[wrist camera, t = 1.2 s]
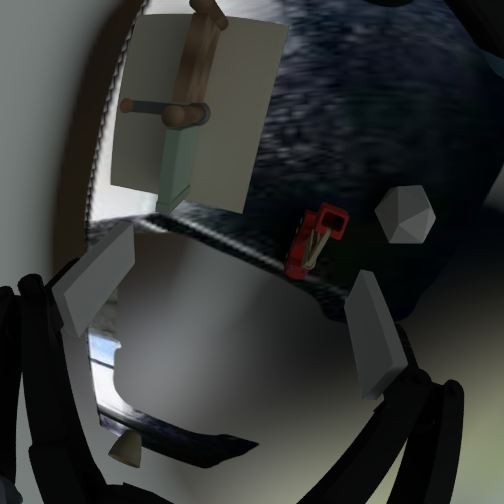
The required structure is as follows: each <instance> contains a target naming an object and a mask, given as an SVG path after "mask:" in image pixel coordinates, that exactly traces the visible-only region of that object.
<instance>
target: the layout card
mask: <svg viewBox="0 0 504 504" xmlns="http://www.w3.org/2000/svg"><path fill="white" fill-rule="evenodd" d="M192 16H193V14H150V15H138V16H137V20H136V23H135V27H134V30H133V34H132V38H131V41H130V45H129V49H128V54H127V58H126V63H125V67H124V72H123V77H122V82H121V88H120V94H119V100H118V107H117V114H116V122H115V130H114V140H113V151H112V166H111V185H114V186H120V187H125V188H130V189H134V190H139V191H144V192H149V193H154V194H158V192H159V183H160V174H161V166H162V158H163V151H164V144H165V137H166V131H167V129H169V128H175V127H167V126H166V125H164V124H163V122H162V119H161V115H162V112H163V110H164V109H165V108H166V107H168V106H171V105H201V106H203V107H204V108H205V110H206V117H205V118H204V120H202V121H200V122H196V123H191V124H192V125H198V130H197V136H196V141H195V147H194V152H193V158H192V164H191V170H190V176H189V183H188V185H191V188H190V193H189V194H188V195H187V196H186V197H185V198H184V199H183V200H186V201H190V202H195V203H199V204H203V205H208V206H212V207H216V208H220V209H225V210H229V211H233V212H237V213H241V214H242V212H243V208H244V204H245V200H246V195H247V191H248V187H249V183H250V178H251V174H252V170H253V166H254V162H255V158H256V154H257V150H258V145H259V141H260V137H261V133H262V129H263V125H264V121H265V117H266V113H267V109H268V106H269V102H270V98H271V94H272V90H273V86H274V82H275V78H276V75H277V71H278V67H279V63H280V59H281V56H282V52H283V48H284V44H285V41H286V37H287V33H288V30H289V26H284V25H280V24H275V23H270V22H264V21H258V20H252V19H245V18H238V17H229V16H225V17H226V18H227V20H228V22H229V25H228V27H227V28H226V29H225V30H223V31H221V32H220V36H219V39H218V43H217V47H216V51H215V54H214V58H213V62H212V66H211V70H210V74H209V79H208V83H207V87H206V92H205V96H204V101H203V103H184V102H176V101H172V97H173V92H174V87H175V82H176V78H177V73H178V69H179V65H180V61H181V56H182V52H183V49H184V45H185V41H186V37H187V34H188V30H189V27H190V23H191V20H192ZM186 125H189V124H186ZM181 126H184V125H181ZM177 127H180V126H177Z"/></svg>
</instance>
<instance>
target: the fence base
mask: <svg viewBox="0 0 504 504" xmlns="http://www.w3.org/2000/svg"><path fill="white" fill-rule="evenodd" d="M189 4H190V6H191V7H192V8H193V9H194V10H195V11H196V12H197V13H193V16H192V20H191V23H190V27H189V30H188V34H187V37H186V41H185V45H184V49H183V52H182V56H181V61H180V65H179V69H178V73H177V78H176V82H175V87H174V92H173V97H172V101H176V102H184V103H203V101H204V96H205V92H206V87H207V83H208V79H209V74H210V70H211V66H212V62H213V58H214V54H215V51H216V47H217V43H218V39H219V36H220V32H221V31H223V30H225V29H226V28H227V27H228V25H229V22H228V20H227V18H226V17H225V15H224V14H223V12H222V11H221V9H220V8H219V6H218V5H217V3H216V2H215V0H190V1H189ZM205 117H206V110H205V108H204V107H203V106H201V105H171V106H168V107H166V108H165V109H164V110H163V112H162V115H161V119H162V122H163V124H164V125H166V126H167V127H177V126H181V125H186V124H191V123H196V122H200V121H202V120H204V118H205Z"/></svg>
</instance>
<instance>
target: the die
mask: <svg viewBox="0 0 504 504" xmlns="http://www.w3.org/2000/svg"><path fill="white" fill-rule="evenodd" d="M374 211H375V213H376V215H377V217H378V219H379V221H380V223H381V225H382V228H383V230H384V232H385V234H386V236H387V239H388V241H389V243H423V242H424V240H425V238H426V236H427V234H428V232H429V230H430V228H431V226H432V225H433V223H434V221H435V219H436V217H435V215H434V212H433V210H432V207H431V205H430V203H429V200H428V198H427V196H426V194H425V192H424V189H423V187H422V185H418V186H400V187H393V188H390V189H389V190H388V192H387V193H386V195H385V196H384V197H383V199H382V200H381V202H380V203H379V204H378V206H377V207H376V209H375V210H374Z"/></svg>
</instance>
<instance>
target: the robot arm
mask: <svg viewBox="0 0 504 504" xmlns="http://www.w3.org/2000/svg"><path fill="white" fill-rule="evenodd" d="M364 1H366V2H369V3H372V4H376V5H380V6H386V7H399V6H404V5H407V4H409V3H411V2H412V1H414V0H364ZM443 1H444V2H445V3H446V4H447V6H448V7H449V8H450V9H451V11H452V12H453V13H454V14H455V16H456V17H457V18H458V20H459V21H460V22H461V24H462V25H463V26H464V28H465V29H466V31H467V32H468V33H469V35H470V36H471V38H472V39H473V43H474V44H475V46H476V47H477V48H478V49H479V50H480V51H481V52H482V54H483V55H484V57H485V58H486V60H487V62H488V63H489V65H490V67H491V68H492V69H493V70H494V72H495V73H496V74H498V75H499V76H501V77H502V78H503V79H504V0H443ZM134 263H135V257H134V237H133V223H130V222H125V221H121V222H120V223H119V224H118V225H117V226H115V227H114V228H113V229H112V230H111V231H110V232H109V233H108V234H106V235H105V236H104V237H103V238H102V239H101V240H100V241H99V242H98V243H97V244H95V245H94V246H93V247H92V248H91V249H90V250H89V251H88V252H87V253H86V254H85V255H84V256H83V257H82V258H81V259H80V258H76V259H74V260H72V261H70V262H68V263H67V264H66V265H65V266H64V267H63V269H61V270H60V271H59V272H58V274H56V275H55V276H54V277H53V278H52V279H51V280H50V281H49V282H48V283H47V284H46V285H45V286H44V284H43V281H42V277H41V276H40V275H38V274H28V275H26V276H24V277H23V278H21V279H20V281H19V282H18V285H17V286H18V289H19V291H20V294H21V296H19V295H14V292H13V290H12V288H11V287H10V286H3V287H0V504H21V503H22V502H23V498H22V496H21V494H20V493H19V492H18V491H17V489H16V487H15V477H16V421H17V407H18V397H19V388H20V381H21V374H22V375H23V386H24V396H25V403H26V410H27V416H28V422H29V428H30V432H31V437H32V445H31V446H30V447H29V450H28V452H29V458H30V462H31V465H32V469H33V473H34V476H35V479H36V482H37V485H38V488H39V491H40V494H41V497H42V500H43V502H44V504H174V503H172V502H170V501H168V500H166V499H164V498H162V497H160V496H158V495H156V494H155V493H153V492H150V491H147V490H144V489H141V488H138V487H136V486H133V485H130V484H127V483H125V482H124V483H123V485H114V484H112V485H107V484H106V481H105V479H104V477H103V475H102V473H101V472H100V470H99V469H98V467H97V465H96V464H95V462H94V460H93V457H92V455H91V452H90V450H89V447H88V444H87V441H86V438H85V435H84V432H83V429H82V426H81V423H80V419H79V416H78V412H77V409H76V405H75V401H74V397H73V393H72V389H71V384H70V380H69V375H68V370H67V365H66V359H65V354H64V348H63V340H62V334H61V331H60V330H61V328H62V327H63V325H64V326H65V329H66V332H67V334H70V335H72V336H74V337H76V338H80V337H81V335H82V334H83V332H84V331H85V330H86V328H87V327H88V325H89V324H90V322H91V321H92V320H93V318H94V317H95V315H96V314H97V312H98V311H99V310H100V308H101V307H102V306H103V304H104V303H105V301H106V300H107V299H108V297H109V296H110V295H111V293H112V292H113V291H114V289H115V288H116V287H117V285H118V284H119V283H120V282H121V280H122V279H123V278H124V276H125V275H126V274H127V272H128V271H129V270H130V269H131V267H132V266H133V265H134ZM344 308H345V312H346V317H347V321H348V326H349V330H350V335H351V340H352V345H353V349H354V355H355V360H356V365H357V371H358V376H359V382H360V388H361V394H362V400H377V399H378V398H379V396H381V394H382V393H383V395H384V401H383V402H382V403H381V404H380V405H379V406H378V407H376V409H375V410H374V412H375V413H374V414H373V416H372V417H371V418H370V420H369V421H368V423H367V424H366V425H365V427H364V428H363V429H362V431H361V432H360V433H359V435H358V436H357V437H356V439H355V440H354V441H353V443H352V444H351V445H350V446H349V448H348V449H347V450H346V451H345V453H344V454H343V455H342V456H341V457H340V459H339V460H338V461H337V462H336V463H335V465H334V466H333V467H332V468H331V469H330V470H329V471H328V472H327V473H326V474H325V475H324V477H323V478H322V479H321V480H320V481H319V482H318V483H317V484H316V485H315V486H314V487H313V488H312V489H311V490H310V491H309V492H308V493H307V494H306V495H305V496H304V497H303V498H302V499H301V500H300V501H299V502H298V503H296V504H365V503H366V502H367V501H368V499H369V498H370V497H371V495H372V494H373V493H374V491H375V490H376V488H377V487H378V486H379V484H380V483H381V481H382V480H383V478H384V477H385V475H386V474H387V472H388V471H389V469H390V467H391V466H392V464H393V463H394V461H395V459H396V458H397V456H398V454H399V453H400V451H401V449H402V447H403V446H404V444H405V442H406V440H407V438H408V440H407V444H406V447H405V451H404V455H403V458H402V461H401V465H400V468H399V471H398V474H397V477H396V480H395V482H394V485H393V488H392V491H391V493H390V496H389V498H388V501H387V503H386V504H450V501H451V497H452V493H453V488H454V484H455V479H456V474H457V468H458V463H459V456H460V448H461V440H462V429H463V415H464V390H463V388H462V386H461V385H460V384H459V382H457V381H455V380H452V379H451V380H448V381H447V382H446V383H445V384H444V385H440V384H437V383H434V382H432V381H431V378H430V376H429V374H427V372H425V371H424V370H422V369H419V367H418V365H417V362H416V359H415V356H414V353H413V351H412V348H411V347H410V346H411V345H410V342H409V341H408V337H407V335H406V332H405V331H404V330H403V328H402V327H401V326H400V324H395V323H393V320H392V318H391V315H390V312H389V310H388V307H387V305H386V302H385V300H384V298H383V295H382V293H381V290H380V288H379V286H378V283H377V281H376V279H375V276H374V274H373V272H369V271H365V270H361V271H360V273H359V275H358V278H357V280H356V282H355V284H354V287H353V289H352V291H351V293H350V295H349V297H348V299H347V301H346V304H345V306H344Z"/></svg>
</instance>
